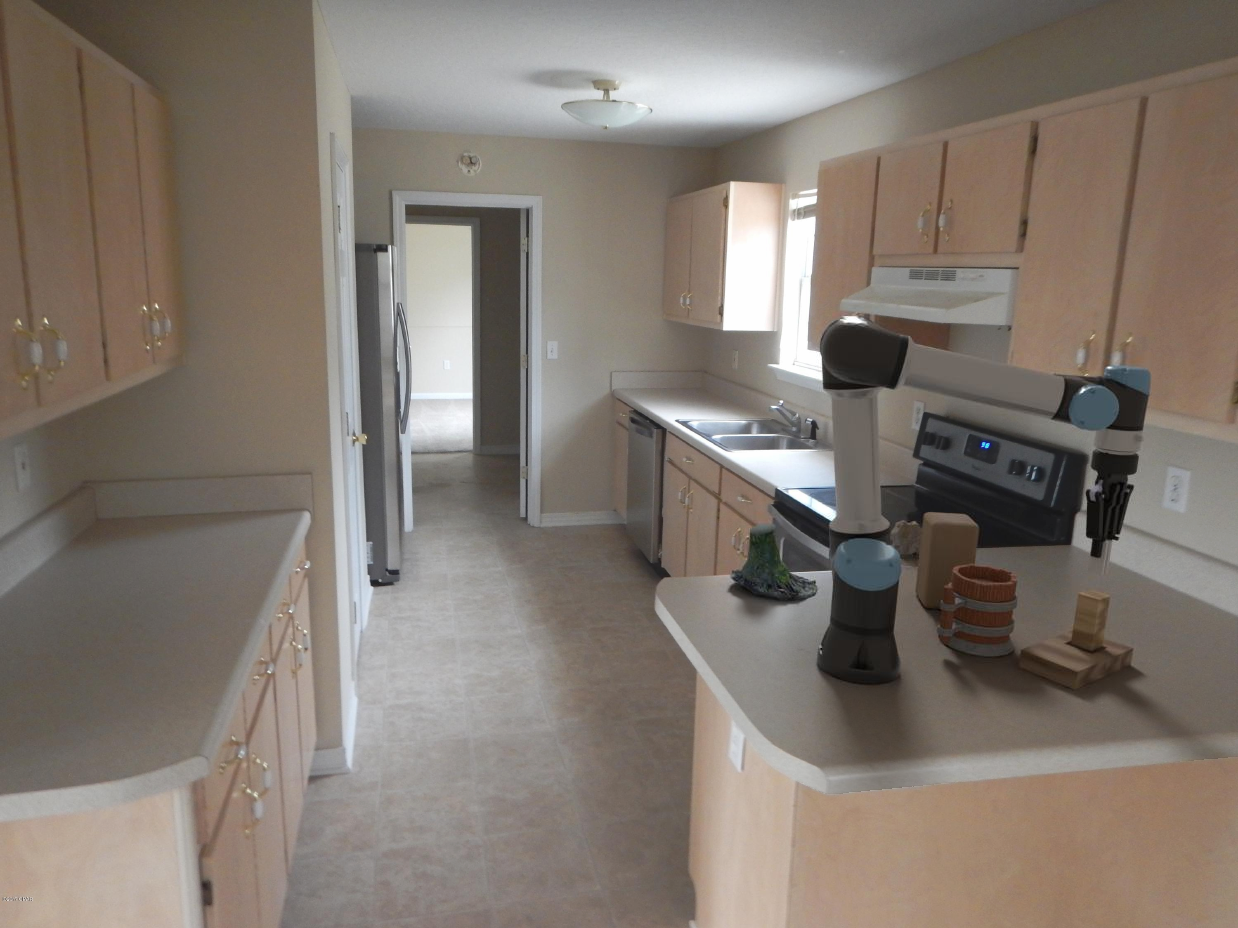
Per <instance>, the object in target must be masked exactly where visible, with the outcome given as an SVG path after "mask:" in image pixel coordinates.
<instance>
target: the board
mask: <svg viewBox="0 0 1238 928" xmlns="http://www.w3.org/2000/svg"><path fill="white" fill-rule="evenodd" d="M1072 632H1073V630H1070V631H1067V632H1065V633H1063V634H1060V635H1057V636H1055V637H1054V636H1053V637H1052V638H1048V639H1046V640H1044V641H1043V640H1042V641H1041V642H1037V643H1034V644H1031V645H1030V646H1027V647H1023V648H1022V649H1020V653H1019V660H1018V667H1019V668H1021V669H1024V670H1026V671H1029V672H1031V673H1034V674H1036V675H1038V676H1041V677H1043V678H1045V679H1048V680H1050V681H1053V682H1055V683H1058V684H1059V685H1063V686H1065V687H1068V688H1071V689H1073V690H1077V689H1079V688H1081V687H1083V686H1087V685H1089V684H1092V683H1093V682H1095V681H1098V680H1101V679H1102V678H1105V677H1107V676H1109V675H1112V674H1113V673H1116V672H1118V671H1120V670H1123V669H1125V668H1128V667H1130V666H1131V664H1132V660H1133V654H1134V647H1131V646H1129V645H1125V644H1124V643H1119V642H1117V641H1114V640H1111V639H1108V638H1106V637H1104V639H1103V645H1102V646H1103V648H1102V650H1101V651H1099V652H1096V653H1094V654H1091V653H1089V652H1086V651H1083V650H1080V649H1078V648H1075V647H1072V646H1070V643H1071V639H1072Z"/></svg>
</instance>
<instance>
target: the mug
mask: <svg viewBox="0 0 1238 928" xmlns="http://www.w3.org/2000/svg"><path fill="white" fill-rule="evenodd" d="M1017 583H1018V578H1017V575H1016V574H1013V573H1012V571H1010V570H1009V569H1005V568H1002V567H1001V568H998V567H993V566H992V565H986V564H985V565H982V564H975V565H974V564H967V565H961V566H956V567H954V568H953V572H952V581H951V583H950V584H949V585H945V586H944V593H943V594H944V596H943V600H941V604H940V608H941V609H940V613H941V615H940V621H939V624H938V625H937V630H936V633H937V634H938V635H937V637H938V639H939V642H940V644H942V645H946V646H948V647H949V648H950V649H953V650H954V651H957V652H960V653H963V654H967V655H969V656H970V655H971V656H973V657H974V656H976V657H981V658H997V657H998V658H999V657H1003V656H1006V655H1008V654H1010V653H1012V652H1013V650H1014V649H1015V647H1014V644H1013V640H1012V639H1011V637H1010V636H1011V634H1012V633H1013V632H1014V629H1015V622H1016V621H1015V619H1014V617H1013V615H1014V610H1015V609H1016V608H1017V606H1018V602H1019V601H1018V599H1019V596H1018V594H1017V593H1016V591H1017Z"/></svg>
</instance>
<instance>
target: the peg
mask: <svg viewBox="0 0 1238 928" xmlns="http://www.w3.org/2000/svg"><path fill="white" fill-rule="evenodd" d="M1076 599H1077V600H1076V605H1075V606H1076V607H1075V614H1074V621H1073V626H1072V627H1073V628H1072V631H1073V632H1072V639H1071V643H1070V646H1072V647H1075V648H1078V649H1080V650H1083V651H1086V652H1089V653H1091V654H1094V653H1096V652H1099V651H1101V650H1102V648H1103V646H1102V645H1103V639H1104V638H1105V633H1106V626H1107V619H1108V614H1109V605H1110V601H1111V595H1108V594H1104V593H1102V592H1098V591H1095V590H1092V589H1088V590H1084V591H1081V592H1078V594H1077V598H1076Z"/></svg>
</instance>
